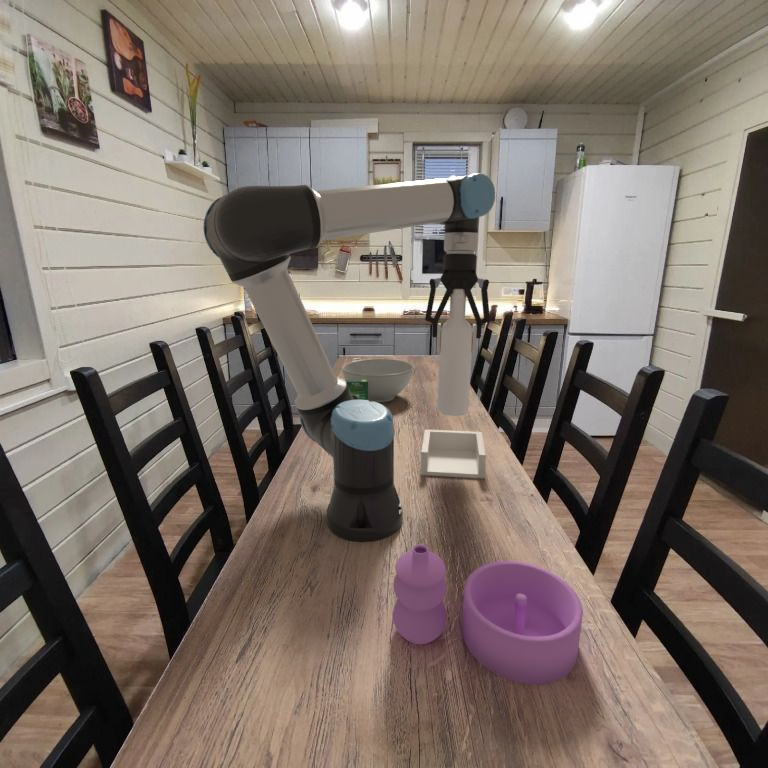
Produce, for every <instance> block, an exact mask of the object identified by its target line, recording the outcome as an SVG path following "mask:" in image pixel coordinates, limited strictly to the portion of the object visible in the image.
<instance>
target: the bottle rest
mask: <svg viewBox="0 0 768 768" xmlns="http://www.w3.org/2000/svg"><path fill="white" fill-rule="evenodd" d="M422 439H423V440H422V445H421V455H420V457H421V458H420V475H421V476H430V477H447V478H448V477H450V478H464V479H465V478H468V479H483V480H484V479H485V474H486V449H485V444H484V436H483V432H482V431H468V430H466V431H465V430H447V429H445V430H444V429H443V430H442V429H424V434H423V438H422Z"/></svg>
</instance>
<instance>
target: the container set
mask: <svg viewBox="0 0 768 768" xmlns="http://www.w3.org/2000/svg"><path fill="white" fill-rule="evenodd" d="M394 569H395V576H394V578H393V586H392V587H393V591H394V593H395V596H396V598H397V600H396V601H395V603H394V605H393V610H392V622H393V624H394V626H395V629H396V631H397V632H398V633H399V635H400V636H401V637H403V638H404V639H405V640H406V641H408V642H409V643H412V644H415V645H427V644H430V643H432V642H433V641H434V640H436V639H437V638H439V637H440V635H442V634H443V632H444V630H445V629H446V625H447V619H448V617H447V609H446V607H445V604H444V602H443V600H444V599H445V597H446V594H447V591H448V585H447V579H446V577H445V575H446V571H447V569H446V566H445V563H444V560H443V559H442V558H441V557H440V556H439V555H438V554H436V553H435V552H433V551H430V549H429V547H428V546H427V545H426V544H422V543H421V544H416V545H414V546H413V547H412V549H411V550H408V551H406V552H404V553H402V554H401V555H400V556H399V557H398V559H397V561H396V563H395V567H394ZM463 587H464V588H463V599H462V600H463V601H462V602H463V606H462V626H461V628H462V637H463V640H464V642H465V645H466V648H467V649H468V650H469V652H470V654H471V655H472V656H473V657H474V658H475V659H476V660H477V661H478V663H480V664H481V665H482V666H483V667H484V668H486V669H487V670H489V671H490V672H491V673H493V674H495V675H497V676H499V677H501V678H504V679H506V680H508V681H510V682H514V683H518V684H523V685H532V686H533V685H534V686H535V685H536V686H537V685H548V684H551V683H554V682H557V681H560V680H562V679H563V678H565V677H566V676H568V675H569V674H570V672H572V670H573V669H574V668H575V665H576V664H577V661H578V654H579V647H580V639H581V632H582V631H581V630H582V622H583V615H584V610H583V604H582V603H581V600H580V597H579V596H578V593H576V591H575V590H574V589H573V588H572V587H571V586H570V584H568V582H567V581H565V580H564V579H563V578H561V577H559V576H558V574H555V573H554V572H552V571H550V570H548V569H546V568H543V567H541V566H538V565H535V564H533V563H532V564H531V563H528V562H521V561H515V560H502V561H493V562H490V563H485V564H483V565H481V566H479V567H478V568H476V569H475V570H473V571H472V572H471V573H470V574H469V575H468V577H467V578H466V580H465V582H464V586H463Z"/></svg>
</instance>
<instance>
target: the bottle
mask: <svg viewBox="0 0 768 768" xmlns="http://www.w3.org/2000/svg"><path fill="white" fill-rule="evenodd" d="M449 299H450V303H449V318H448V319H447V320H446V321H445V322H444V323H443V325H442V328H441V330H440V352H438V353H439V355H438V356H439V358H438V359H439V360H438V378H437V379H438V380H437V381H438V383H437V398H436V399H437V400H436V405H437V406H436V407H437V408H436V409H437V412H438V413H440V414H442V415H445V416H452V417H453V416H454V417H459V416H464V415H467V414H468V413H469V408H470V393H471V392H470V390H471V389H470V388H471V370H472V354H473V353H472V340H473V332H472V331H473V327H472V326H471V324H470V323H469V322H468V321H467V319H466V303H467V302H466V301H467V295H466V294H465V290H464V289H453V293H452V294H451V295H450V297H449Z"/></svg>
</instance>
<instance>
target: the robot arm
mask: <svg viewBox="0 0 768 768" xmlns="http://www.w3.org/2000/svg"><path fill="white" fill-rule="evenodd" d="M495 200H496V191H495V185H494V183H493V181H492V179H491V178H490V177H489V176H488V175H486V174H484V173H479V172H478V173H477V172H476V173H468V174H466V175H464V176H454V177H453V176H452V177H445V178H444V177H443V178H434V179H424V180H414V181H404V182H391V183H383V184H374V185H373V184H372V185H362V186H352V187H344V188H343V187H341V188H334V189H333V188H331V189H322V190H314V189H313V188H312V187H311V186H310V185H308V184H298V185H246V186H241V187H237V188H235V189H234V190H231V191H230V192H228V193H226V194H223V195H222V196H220V197H218V198H216V199H215V200H214V201H213V202H212V203H211V204H210V206H209V207H208V209H206V210H207V211H206V213H205V216H204V219H203V228H202V229H203V234H204V235H203V237H204V239H205V242H206V244H207V246H208V248H209V249H210V250H211V251H212V253H213V254H214V255H215V256H216V257H217V258H219V259H220V263H221V264H222V265H223V267H224V269H225V271H226V273H227V275H228V277H229V279H230V281H231V283H233V284H235V285H238V286H240V287H242V288H244V290H245V292H246V294H247V295H248V298H249V300H250V302H251V304H252V306H253V308H254V310H255V312H256V314H257V315H258V318H259V320H260V322H261V324H262V326H263V327H264V329H265V332H266V333H267V336H268V338H269V340H270V342H271V343H272V346H273V347H274V350H275V352H276V354H277V355H278V357H279V360H280V362H281V364H282V365H283V368H284V369H285V371H286V373H287V375H288V377H289V380H290V381H291V383H292V385H293V388H294V389H295V391H296V393H297V395H296V398H295V400H294V406H295V407H296V409H297V411H298V413H299V422H300V425H301V426H302V429H303V431H304V433H305V435H307V437H308V438H309V439H310V440H312V441H313V442H315V443H316V444H317V445H319V446H320V447H321V448H322V449H323V450H324V451H325V452H326V453H327V454H328V455H330V457H331V458H332V461H333V478H334V479H333V481H334V484H333V489H332V493H331V497H330V501H329V502H328V503H329V504H328V506H327V508H326V525H327V527H328V529H329V530H330V532H332V533H333V534H335V535H336V536H338V537H340V538H342V539H345V540H349V541H354V542H371V541H376V540H381V539H385V538H387V537H389V536H391V535H393V534H394V533H396V532H397V531H398V530H399V528H401V526H402V524H403V521H404V520H403V517H404V516H403V515H404V514H403V512H404V511H403V507H402V506H403V505H402V503H401V501H400V497H399V495H398V492H397V489H396V486H395V480H394V479H395V478H394V476H395V475H394V474H395V468H394V467H395V465H394V464H395V462H394V461H395V459H394V458H395V456H394V455H395V454H394V452H395V443H394V442H395V434H396V431H395V425H394V417H393V415H392V412H391V411H390V409H389V408H388V407H386V406H385V405H383V404H382V403H381V402H374V401H373V402H369V400H354V399H353V397H352V394H351V392H350V390H349V388H348V385H347V383H346V381H345V378H342V377H338V376H336V374H335V371H334V370H333V368H332V365H331V363H330V361H329V358H328V357H327V354H326V352H325V350H324V347H323V346H322V343H321V342H320V339H319V337H318V335H317V332H316V330H315V328H314V326H313V323H312V322H311V319H310V317H309V315H308V313H307V310H306V307H305V306H304V303H303V301H302V299H301V297H300V295H299V293H298V290H297V288H296V286H295V284H294V281H293V279H292V277H291V275H290V272H289V271H288V266H289V265H290V262H291V259H292V257H291V256H290V255H291V254H294V253H297V252H302V251H305V250H306V251H307V250H313V249H317V248H319V246H320V245H321V243H322V242H323V241H327V240H334V239H335V240H336V239H342V238H347V237H354V236H359V235H361V236H362V235H366V234H373V233H379V232H386V231H392V230H399V229H405V228H413V227H419V226H420V227H421V226H425V225H444V234H443V235H444V238H443V240H444V241H443V251H444V252H445V254H444V255H443V264H442V265H443V266H442V275H441V276H440V277H436V278H430V279H429V288H430V291H429V297H428V302H427V307H426V311H425V312H426V313H425V317H424V320H425V321H426V322H428V323H431V324H432V325H431V326H432V328H431V329H432V331H431V332H432V338H436V353H439V352H440V332H441V329H442V328H441V326H442V324H441V322H439V321H440V318H441V317H442V314H443V311H444V309H445V308H446V306H447V304H448V301H449V299H450V298H451V297H450V295H451V294H452V293H453V289H464V290H465V294H466V295H467V297H466V299H467V301H468V304H469V306H470V308H471V312H472V315H473V317H474V320H475V323H473V324H472V332H473V340H472V354H475V353H476V345H477V344H476V343H477V339H481V338H482V328H483V327H482V326H483V324H487V323H490V321H491V317H490V315H491V314H490V307H489V296H488V295H489V294H488V288H489V285H490V280H489V279H488V278H481V277H480V278H479V277H478V276H477V260H478V256H477V254H475V252H477V251H478V243H479V241H478V240H479V223H480V217H483V216H485V215H488V214H489V212H490V211H491V210H492V208H493V207H494V203H495V202H496V201H495ZM440 283H442V285H443V286H444V288H445V289H446V290H445V293H444V295H443V297H442V298H441V300H440V301H441V302H440V304H439V305H438V308H437V310H436V312H435V314H434V317H433V316H432V311H433V308H434V307H433V306H434V301H435V297H436V292H437V289H438V287H440ZM476 284H478V288H480V289H481V290H480V293H481V302H482V314H483V317H482V318H481V316H480V312H479V310H478V307H477V304H476V301H475V298H474V297H473V296H474V295H473V293H472V289H473V288H474V287H475V285H476Z"/></svg>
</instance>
